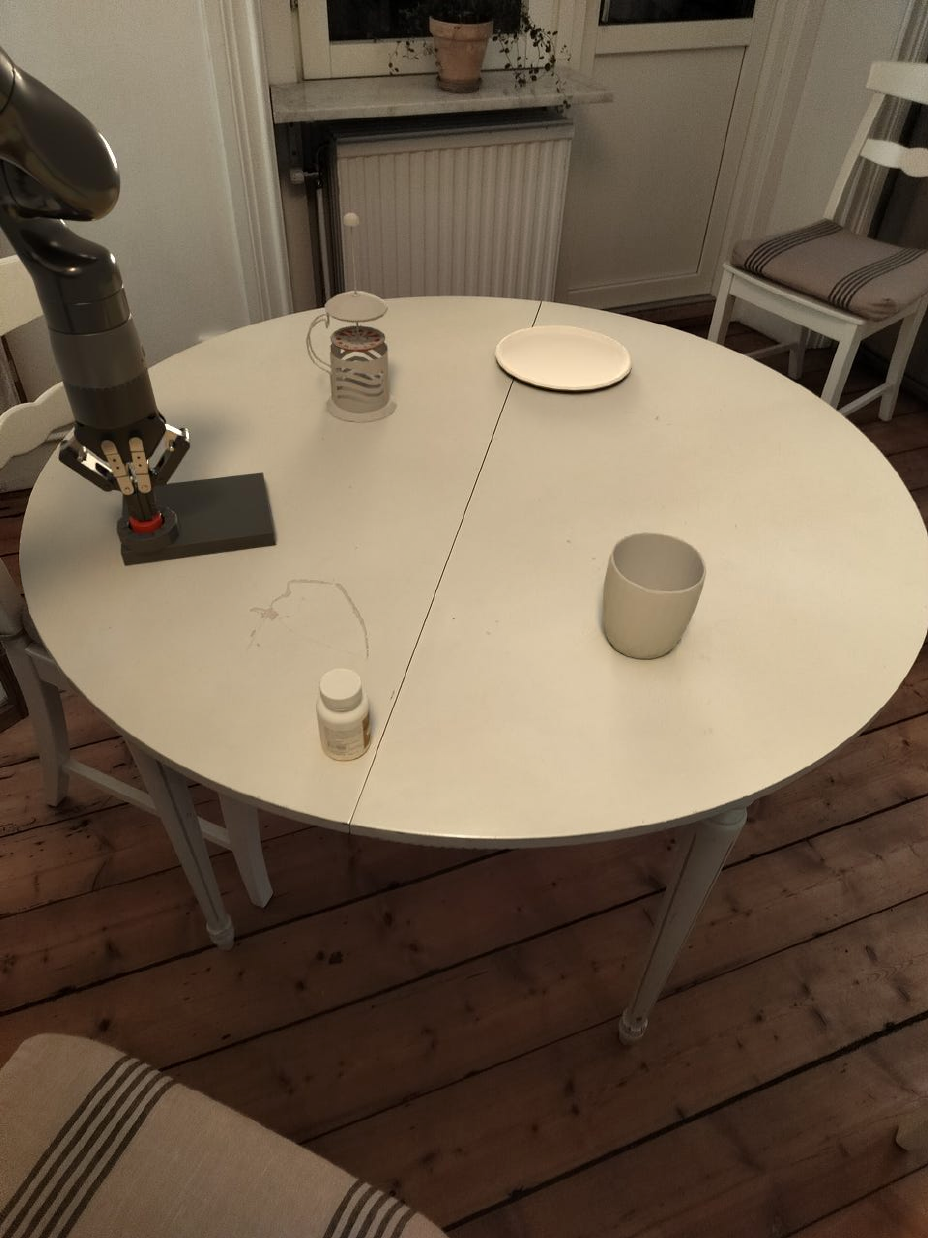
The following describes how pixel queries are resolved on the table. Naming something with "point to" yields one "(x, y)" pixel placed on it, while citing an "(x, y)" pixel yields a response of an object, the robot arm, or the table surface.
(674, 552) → the mug
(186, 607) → the table surface
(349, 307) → the french press
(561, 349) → the plate
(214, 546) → the black button box
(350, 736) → the pill bottle
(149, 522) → the button
